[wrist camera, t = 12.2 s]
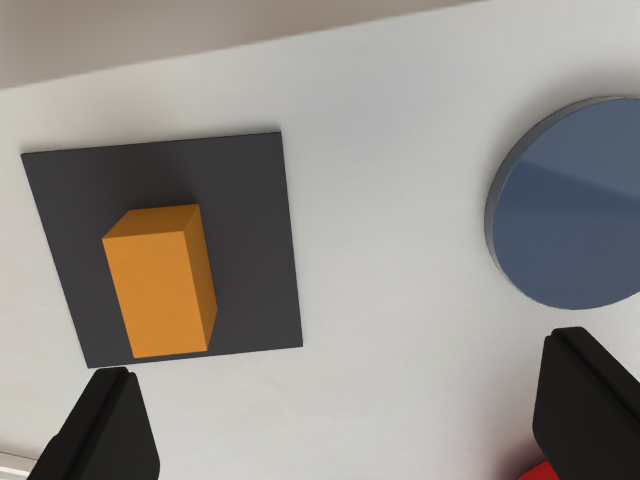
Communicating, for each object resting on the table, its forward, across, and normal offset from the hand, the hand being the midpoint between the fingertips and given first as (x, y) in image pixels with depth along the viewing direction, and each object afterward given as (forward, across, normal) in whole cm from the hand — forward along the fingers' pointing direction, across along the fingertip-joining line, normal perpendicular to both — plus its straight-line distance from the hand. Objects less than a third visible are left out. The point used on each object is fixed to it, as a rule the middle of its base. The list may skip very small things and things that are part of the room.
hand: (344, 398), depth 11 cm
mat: (+21, +10, +6) cm, 24 cm away
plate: (+22, -19, +4) cm, 30 cm away
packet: (+21, +10, +6) cm, 24 cm away
